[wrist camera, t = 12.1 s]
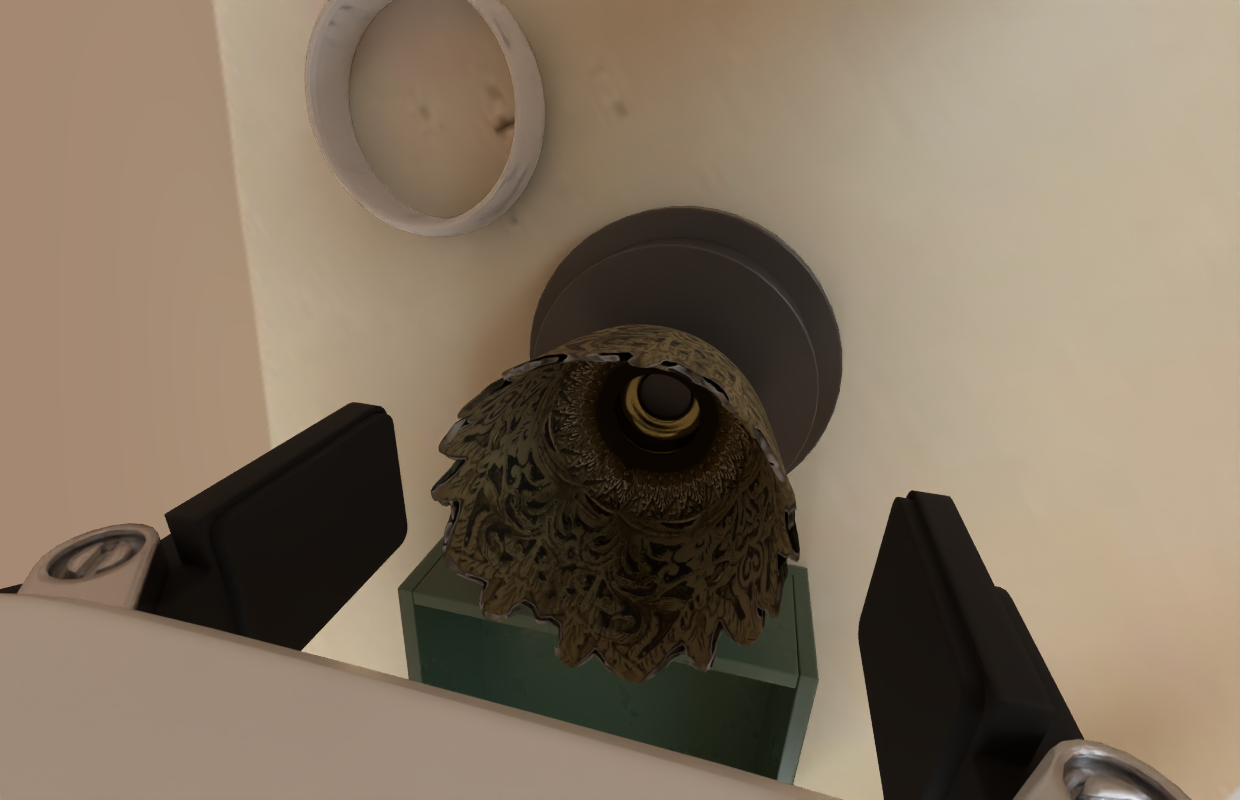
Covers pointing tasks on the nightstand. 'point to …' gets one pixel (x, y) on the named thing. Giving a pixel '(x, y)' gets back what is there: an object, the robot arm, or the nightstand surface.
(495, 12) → the ring
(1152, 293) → the nightstand surface
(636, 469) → the cup
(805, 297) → the stand
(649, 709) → the tin
